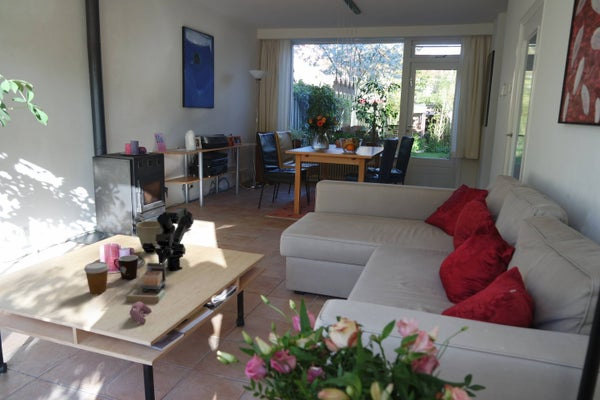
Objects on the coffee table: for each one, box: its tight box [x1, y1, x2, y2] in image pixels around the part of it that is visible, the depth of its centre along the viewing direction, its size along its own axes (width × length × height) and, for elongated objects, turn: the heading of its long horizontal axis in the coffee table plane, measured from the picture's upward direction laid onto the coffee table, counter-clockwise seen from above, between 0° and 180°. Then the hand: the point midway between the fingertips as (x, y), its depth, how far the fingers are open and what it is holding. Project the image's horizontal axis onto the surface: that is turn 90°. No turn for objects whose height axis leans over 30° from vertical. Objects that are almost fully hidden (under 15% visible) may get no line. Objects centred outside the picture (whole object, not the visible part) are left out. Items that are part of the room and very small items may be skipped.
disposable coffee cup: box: [83, 261, 110, 295], centre depth 186 cm, size 10×10×12 cm
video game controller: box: [129, 302, 152, 324], centre depth 163 cm, size 10×5×7 cm, turn 5°
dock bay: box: [126, 288, 166, 304], centre depth 181 cm, size 9×13×3 cm
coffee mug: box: [113, 254, 139, 281], centre depth 203 cm, size 12×9×10 cm
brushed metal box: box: [140, 262, 167, 294], centre depth 189 cm, size 9×8×10 cm
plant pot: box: [135, 220, 162, 255], centre depth 242 cm, size 15×15×16 cm
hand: (160, 265), depth 197 cm, fingers closed
